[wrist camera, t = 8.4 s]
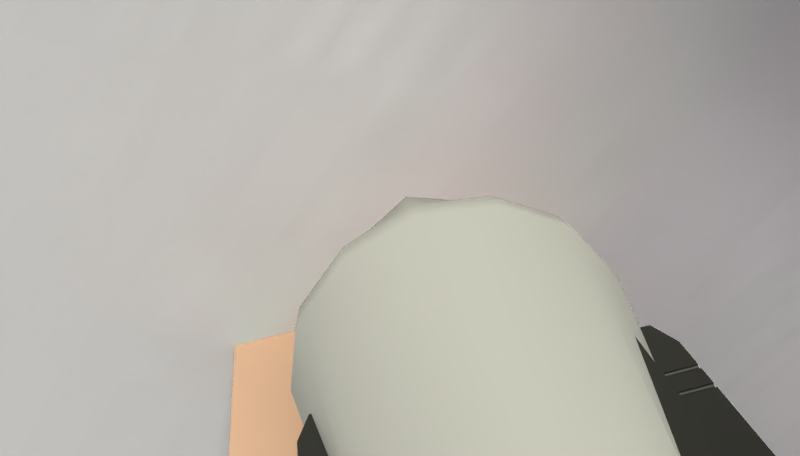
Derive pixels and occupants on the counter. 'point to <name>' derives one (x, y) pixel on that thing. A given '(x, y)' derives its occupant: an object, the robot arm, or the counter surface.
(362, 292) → the salt shaker
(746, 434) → the robot arm
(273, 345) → the tile
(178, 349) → the counter surface
